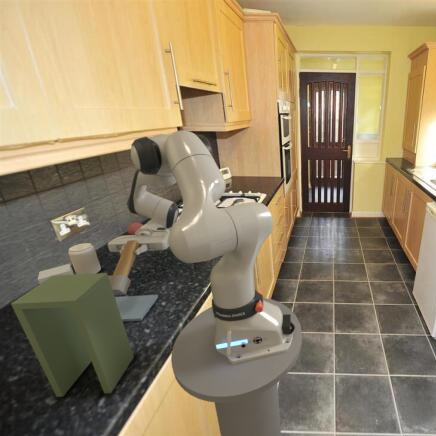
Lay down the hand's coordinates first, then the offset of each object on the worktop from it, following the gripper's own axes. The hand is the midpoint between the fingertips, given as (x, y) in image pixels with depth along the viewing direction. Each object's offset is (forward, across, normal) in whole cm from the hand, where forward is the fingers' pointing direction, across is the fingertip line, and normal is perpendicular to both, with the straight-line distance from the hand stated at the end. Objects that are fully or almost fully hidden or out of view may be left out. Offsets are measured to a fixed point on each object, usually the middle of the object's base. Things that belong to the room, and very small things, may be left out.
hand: (128, 253), depth 92 cm
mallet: (+3, 0, +4) cm, 5 cm away
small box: (+4, -22, +16) cm, 28 cm away
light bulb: (-41, -20, +16) cm, 48 cm away
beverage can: (-16, -28, +16) cm, 36 cm away
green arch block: (+34, +7, +16) cm, 38 cm away
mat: (+9, 0, +16) cm, 19 cm away
